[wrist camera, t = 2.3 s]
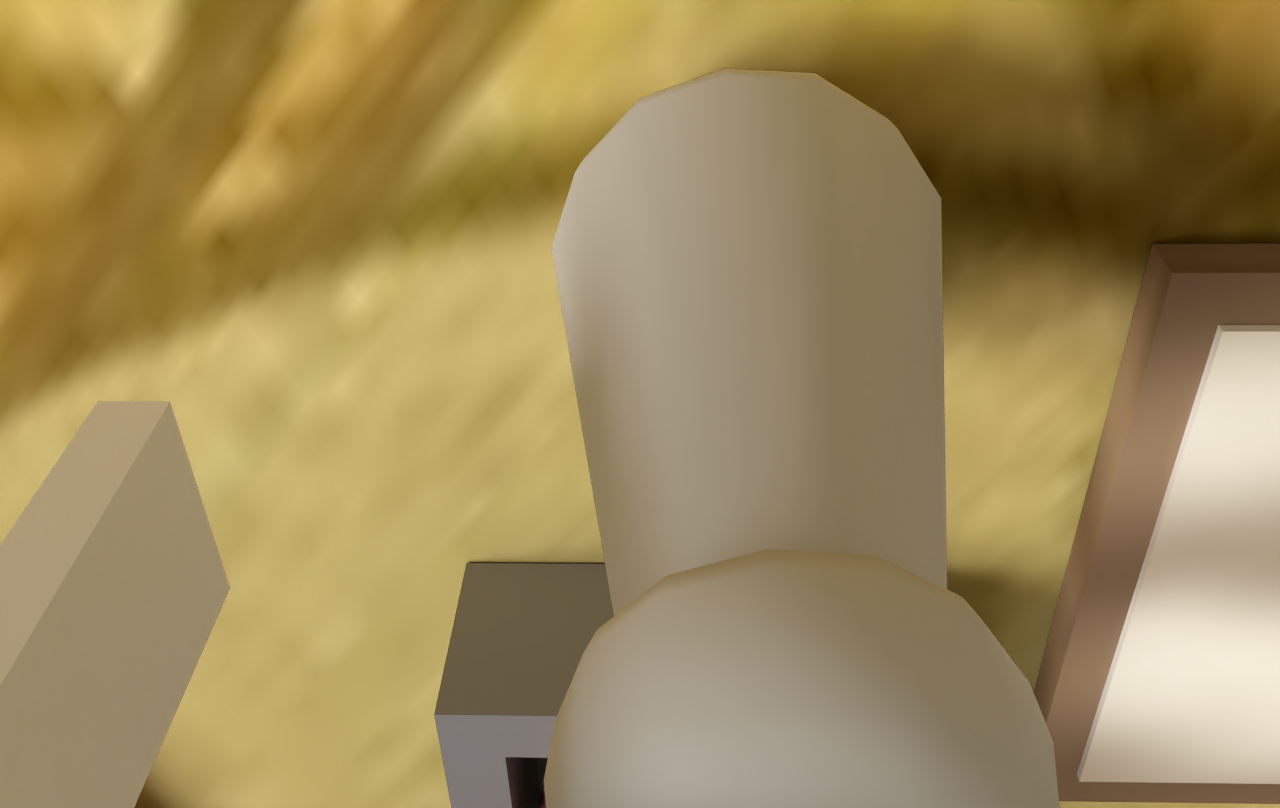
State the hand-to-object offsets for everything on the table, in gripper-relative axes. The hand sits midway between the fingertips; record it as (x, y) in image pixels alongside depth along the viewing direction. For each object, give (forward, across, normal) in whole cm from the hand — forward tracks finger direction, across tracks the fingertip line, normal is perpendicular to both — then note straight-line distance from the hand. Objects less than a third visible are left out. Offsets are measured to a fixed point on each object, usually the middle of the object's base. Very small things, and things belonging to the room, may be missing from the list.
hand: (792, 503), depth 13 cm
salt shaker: (+9, 0, 0) cm, 9 cm away
